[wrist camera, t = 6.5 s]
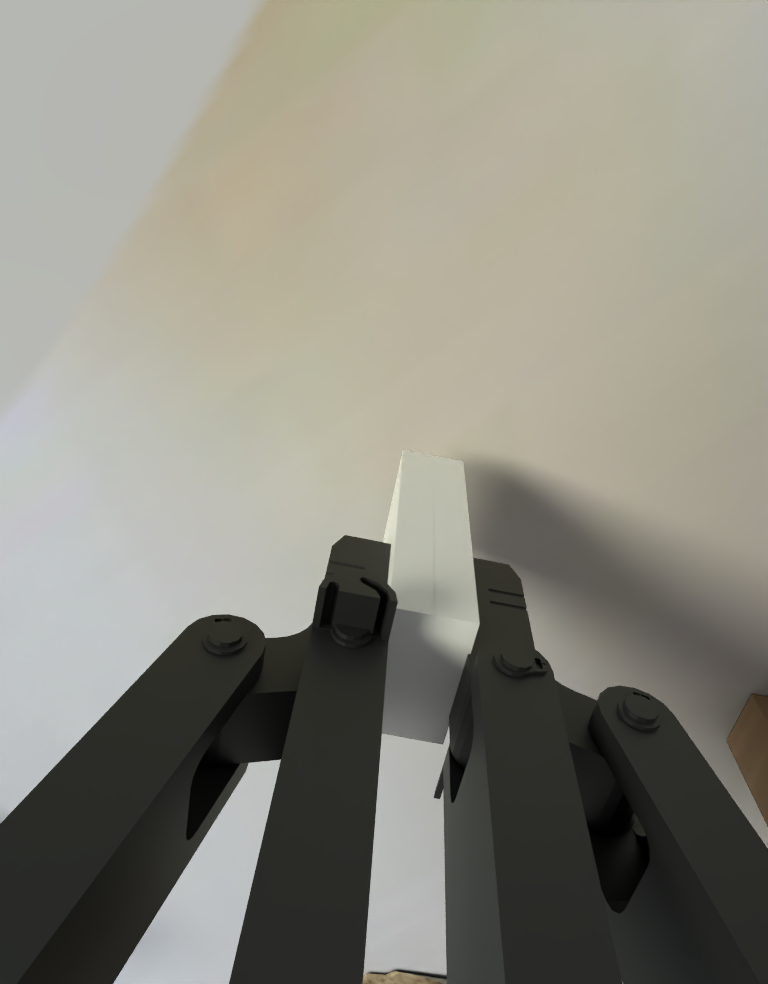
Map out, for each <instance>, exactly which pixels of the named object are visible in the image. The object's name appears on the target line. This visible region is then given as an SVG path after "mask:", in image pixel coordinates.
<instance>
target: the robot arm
mask: <svg viewBox="0 0 768 984" xmlns="http://www.w3.org/2000/svg"><path fill="white" fill-rule="evenodd" d="M448 726H449V730H450V745H449V748H448V751H447V754H446V758H445V761H444V764H443V767H442V771H441V774H440V777H439V780H438V784H437V787H436V791H435V795H434V798H437V799H440V797H441V794H442V791H443V789H444V842H445V900H446V957H447V984H622V981H623V984H768V848H767V847H766V845H765V844H764V843H763V841H762V840H761V838H760V837H759V835H758V834H757V833H756V831H755V830H754V828H753V827H752V825H751V824H750V823H749V821H748V820H747V818H746V817H745V816H744V814H743V813H742V811H741V810H740V808H739V807H738V806H737V804H736V803H735V801H734V800H733V798H732V797H731V796H730V794H729V793H728V791H727V790H726V788H725V787H724V786H723V784H722V783H721V781H720V780H719V778H718V777H717V776H716V774H715V773H714V771H713V770H712V768H711V767H710V766H709V764H708V763H707V761H706V760H705V758H704V757H703V756H702V754H701V753H700V751H699V750H698V749H697V747H696V746H695V744H694V743H693V741H692V740H691V739H690V737H689V736H688V734H687V733H686V731H685V730H684V729H683V727H682V726H681V724H680V723H679V721H678V720H677V719H676V717H675V716H674V714H673V713H672V712H671V711H670V710H669V709H668V708H667V707H666V706H665V705H664V704H663V703H662V702H660V701H659V700H657V699H656V698H654V697H653V696H651V695H650V694H648V693H645V692H643V691H640V690H638V689H635V688H631V687H625V686H615V687H609V688H607V689H605V690H604V691H603V692H601V693H600V695H599V698H598V700H595V699H592V698H590V697H587V696H585V695H583V694H580V693H578V692H575V691H573V690H571V689H569V688H567V687H565V686H563V685H561V684H560V683H559V682H557V681H556V680H555V679H554V674H553V671H552V668H551V666H550V664H549V662H548V661H547V660H546V659H545V658H544V657H543V656H542V655H541V654H540V653H539V652H538V651H536V650H535V647H534V642H533V637H532V632H531V627H530V622H529V618H528V613H527V611H526V603H525V598H524V593H523V588H522V583H521V579H520V578H519V577H518V576H517V574H516V573H515V572H514V571H513V569H512V568H511V567H510V566H509V565H508V564H502V563H497V562H492V561H487V560H481V559H476V558H473V553H472V543H471V533H470V523H469V513H468V503H467V493H466V483H465V473H464V463H463V461H459V460H454V459H449V458H444V457H439V456H434V455H429V454H424V453H418V452H413V451H408V450H403V452H402V457H401V461H400V466H399V470H398V475H397V480H396V484H395V489H394V494H393V498H392V503H391V507H390V512H389V517H388V521H387V526H386V530H385V535H384V540H383V542H378V541H373V540H367V539H362V538H357V537H352V536H347V535H345V536H343V537H342V538H341V539H340V540H339V541H338V542H336V543H335V544H334V545H333V546H332V550H331V554H330V558H329V563H328V567H327V571H326V575H325V579H324V580H323V581H322V583H321V585H320V586H319V590H318V595H317V601H316V607H315V612H314V618H313V623H312V624H311V625H310V626H309V627H308V628H307V629H305V630H304V631H302V632H300V633H298V634H295V635H291V636H288V637H279V638H265V636H264V633H263V632H262V631H261V630H260V628H259V627H258V626H257V625H256V624H254V623H252V622H250V621H249V620H247V619H245V618H242V617H237V616H233V615H211V616H208V617H204V618H201V619H198V620H197V621H195V622H194V623H192V624H191V625H189V626H188V627H187V628H186V629H185V630H184V631H183V632H182V633H181V634H180V635H179V636H178V637H177V638H176V640H175V641H174V642H173V643H172V644H171V645H170V646H169V647H168V648H167V649H166V650H165V651H164V652H163V653H162V654H161V655H160V656H159V657H158V658H157V660H156V661H155V662H154V663H153V664H152V665H151V666H150V667H149V668H148V669H147V670H146V671H145V672H144V673H143V674H142V675H141V676H140V677H139V678H138V680H137V681H136V682H135V683H134V684H133V685H132V686H131V687H130V688H129V689H128V690H127V691H126V692H125V693H124V694H123V695H122V696H121V697H120V698H119V700H118V701H117V702H116V703H115V704H114V705H113V706H112V707H111V708H110V709H109V710H108V711H107V712H106V713H105V714H104V715H103V716H102V717H101V718H100V720H99V721H98V722H97V723H96V724H95V725H94V726H93V727H92V728H91V729H90V730H89V731H88V732H87V733H86V734H85V735H84V736H83V737H82V738H81V740H80V741H79V742H78V743H77V744H76V745H75V746H74V747H73V748H72V749H71V750H70V751H69V752H68V753H67V754H66V755H65V756H64V757H63V758H62V760H61V761H60V762H59V763H58V764H57V765H56V766H55V767H54V768H53V769H52V770H51V771H50V772H49V773H48V774H47V775H46V776H45V777H44V778H43V780H42V781H41V782H40V783H39V784H38V785H37V786H36V787H35V788H34V789H33V790H32V791H31V792H30V793H29V794H28V795H27V796H26V797H25V798H24V800H23V801H22V802H21V803H20V804H19V805H18V806H17V807H16V808H15V809H14V810H13V811H12V812H11V813H10V814H9V815H8V816H7V817H6V818H5V820H4V821H3V822H2V823H1V824H0V984H113V983H114V981H115V980H116V978H117V976H118V975H119V973H120V972H121V970H122V968H123V967H124V965H125V964H126V962H127V960H128V959H129V957H130V956H131V954H132V952H133V951H134V949H135V948H136V946H137V944H138V943H139V941H140V940H141V938H142V936H143V935H144V933H145V932H146V930H147V928H148V927H149V925H150V924H151V922H152V920H153V919H154V917H155V916H156V914H157V912H158V911H159V909H160V908H161V906H162V904H163V903H164V901H165V900H166V898H167V896H168V895H169V893H170V892H171V890H172V888H173V887H174V885H175V884H176V882H177V880H178V879H179V877H180V876H181V874H182V872H183V871H184V869H185V868H186V866H187V864H188V863H189V861H190V860H191V858H192V856H193V855H194V853H195V852H196V850H197V848H198V847H199V845H200V844H201V842H202V840H203V839H204V837H205V836H206V834H207V832H208V831H209V829H210V828H211V826H212V824H213V823H214V821H215V820H216V818H217V816H218V815H219V813H220V812H221V810H222V808H223V807H224V805H225V804H226V802H227V800H228V799H229V797H230V796H231V794H232V792H233V791H234V789H235V788H236V786H237V784H238V783H239V781H240V780H241V778H242V776H243V775H244V773H245V772H246V769H247V766H248V763H249V762H260V761H270V760H280V759H281V762H280V767H279V771H278V775H277V780H276V784H275V788H274V792H273V797H272V801H271V805H270V810H269V814H268V818H267V823H266V827H265V831H264V836H263V840H262V844H261V849H260V853H259V857H258V861H257V866H256V870H255V874H254V879H253V883H252V887H251V892H250V896H249V900H248V905H247V909H246V913H245V918H244V922H243V926H242V930H241V935H240V939H239V943H238V948H237V952H236V956H235V961H234V965H233V969H232V974H231V978H230V982H229V984H363V971H364V958H365V945H366V932H367V919H368V906H369V892H370V879H371V866H372V853H373V840H374V827H375V814H376V800H377V787H378V774H379V761H380V748H381V735H382V733H383V734H388V735H394V736H399V737H405V738H410V739H416V740H421V741H427V742H432V743H438V744H443V743H444V740H445V736H446V733H447V730H448Z"/></svg>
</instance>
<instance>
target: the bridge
mask: <svg viewBox="0 0 768 984" xmlns="http://www.w3.org/2000/svg"><path fill="white" fill-rule="evenodd" d="M727 743H728V745H729V748H730V750H731V752H732V754H733V756H734V758H735V760H736V762H737V764H738V766H739V768H740V770H741V772H742V774H743V776H744V779H745V781H746V783H747V785H748V787H749V789H750V791H751V793H752V795H753V797H754V799H755V801H756V803H757V805H758V807H759V809H760V812H761V814H762V816H763V818H764V820H765V822H766V824H767V826H768V697H765V696H759V695H754V694H751V696H750V698H749V700H748V702H747V704H746V706H745V707H744V709H743V711H742V713H741V715H740V717H739V719H738V720H737V722H736V724H735V726H734V728H733V730H732V731H731V733H730V735H729V737H728V739H727Z"/></svg>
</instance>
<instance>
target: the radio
mask: <svg viewBox="0 0 768 984" xmlns="http://www.w3.org/2000/svg"><path fill="white" fill-rule="evenodd" d="M363 984H447V979H444V978H437V977H430V976H423V975H417V974H410V973H403V972H396V971H394V972H390V973H388V974H386V975H382V974H366V975H365V976H364V977H363Z"/></svg>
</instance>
